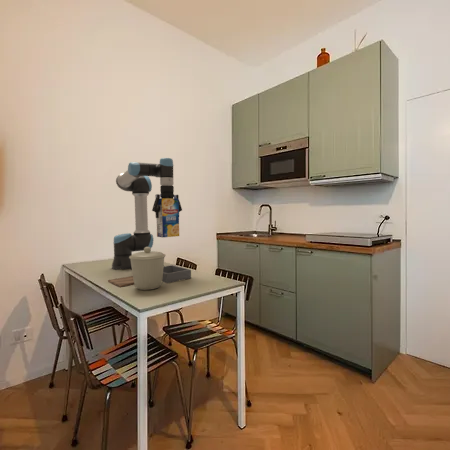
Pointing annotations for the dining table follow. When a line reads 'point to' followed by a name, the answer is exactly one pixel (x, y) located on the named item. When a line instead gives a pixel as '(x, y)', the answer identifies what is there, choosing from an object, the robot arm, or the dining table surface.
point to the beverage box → (168, 217)
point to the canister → (147, 269)
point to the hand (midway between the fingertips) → (167, 223)
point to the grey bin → (175, 273)
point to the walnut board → (122, 281)
